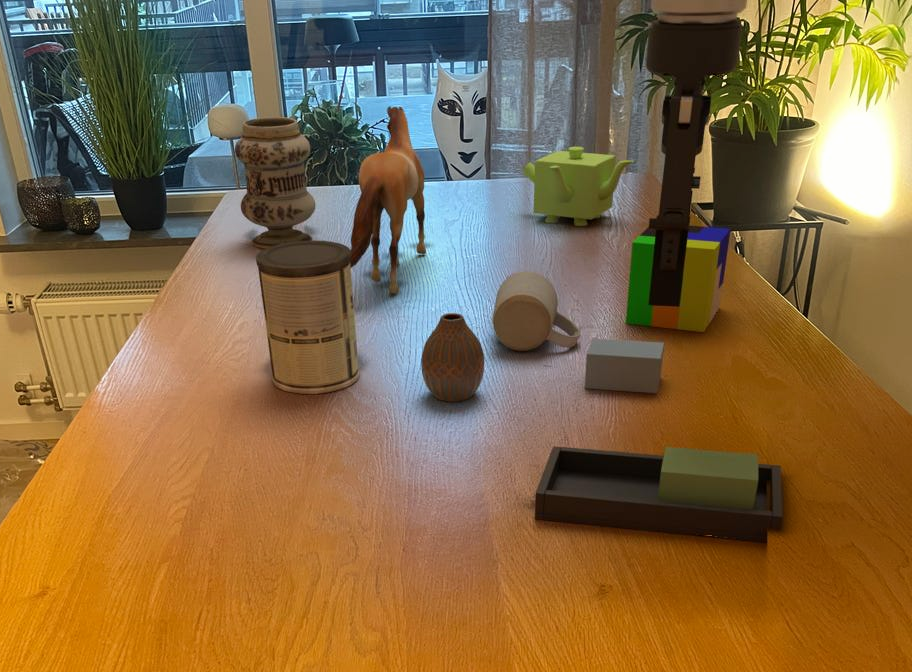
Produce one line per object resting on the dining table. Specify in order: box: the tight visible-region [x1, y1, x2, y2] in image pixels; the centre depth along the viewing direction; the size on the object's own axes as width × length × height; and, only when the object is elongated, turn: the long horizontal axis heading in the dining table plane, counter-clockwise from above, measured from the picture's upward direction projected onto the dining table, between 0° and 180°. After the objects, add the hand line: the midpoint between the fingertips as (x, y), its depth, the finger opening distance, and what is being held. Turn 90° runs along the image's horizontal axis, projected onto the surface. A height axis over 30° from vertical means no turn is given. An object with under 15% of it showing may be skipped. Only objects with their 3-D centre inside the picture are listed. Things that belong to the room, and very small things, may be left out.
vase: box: [420, 312, 485, 403], centre depth 109 cm, size 7×7×9 cm
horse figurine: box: [350, 106, 427, 295], centre depth 143 cm, size 31×8×21 cm, turn 167°
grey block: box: [584, 338, 665, 394], centre depth 112 cm, size 8×5×4 cm, turn 75°
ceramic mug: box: [492, 270, 581, 352], centre depth 122 cm, size 11×8×8 cm
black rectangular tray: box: [534, 446, 784, 543], centre depth 89 cm, size 21×10×3 cm, turn 75°
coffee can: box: [255, 240, 361, 395], centre depth 113 cm, size 10×10×14 cm
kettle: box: [521, 146, 635, 227], centre depth 169 cm, size 15×14×11 cm
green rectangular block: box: [658, 446, 759, 510], centre depth 88 cm, size 8×5×4 cm, turn 75°
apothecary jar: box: [234, 116, 317, 250], centre depth 160 cm, size 12×12×18 cm
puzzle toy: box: [625, 224, 731, 333], centre depth 128 cm, size 10×10×10 cm
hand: (667, 282), depth 94 cm, fingers open, 13 cm apart
